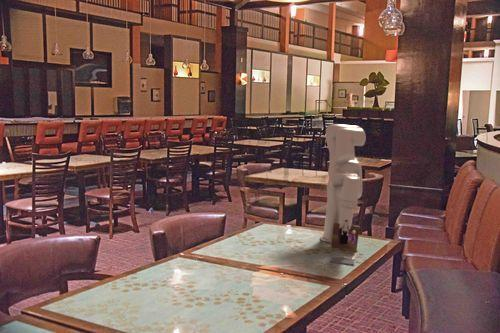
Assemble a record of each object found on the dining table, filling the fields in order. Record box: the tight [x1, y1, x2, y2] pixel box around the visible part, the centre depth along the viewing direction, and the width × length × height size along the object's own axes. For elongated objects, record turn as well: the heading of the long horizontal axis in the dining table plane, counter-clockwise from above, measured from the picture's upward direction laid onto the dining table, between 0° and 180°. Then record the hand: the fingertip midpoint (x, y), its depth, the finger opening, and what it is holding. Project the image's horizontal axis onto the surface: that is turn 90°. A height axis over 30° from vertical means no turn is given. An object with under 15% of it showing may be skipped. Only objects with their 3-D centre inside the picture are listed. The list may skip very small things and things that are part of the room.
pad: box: [330, 255, 355, 267], centre depth 226 cm, size 8×10×1 cm
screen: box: [330, 223, 360, 252], centre depth 244 cm, size 2×12×12 cm, turn 78°
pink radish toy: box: [338, 230, 356, 245], centre depth 235 cm, size 7×5×9 cm
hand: (344, 241), depth 235 cm, fingers closed on pink radish toy, 5 cm apart
